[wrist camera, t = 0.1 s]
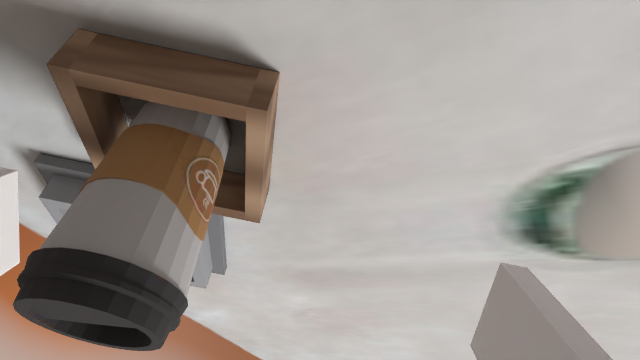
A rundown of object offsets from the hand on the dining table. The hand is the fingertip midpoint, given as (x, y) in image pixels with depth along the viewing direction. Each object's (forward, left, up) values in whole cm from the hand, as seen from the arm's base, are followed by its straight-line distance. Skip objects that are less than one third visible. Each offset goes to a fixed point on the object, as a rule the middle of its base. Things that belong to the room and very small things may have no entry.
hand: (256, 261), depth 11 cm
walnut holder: (+12, -8, -15) cm, 21 cm away
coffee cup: (+12, -8, -16) cm, 21 cm away
